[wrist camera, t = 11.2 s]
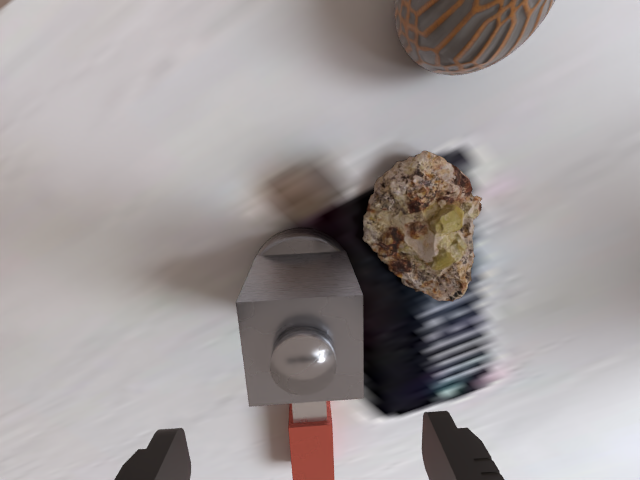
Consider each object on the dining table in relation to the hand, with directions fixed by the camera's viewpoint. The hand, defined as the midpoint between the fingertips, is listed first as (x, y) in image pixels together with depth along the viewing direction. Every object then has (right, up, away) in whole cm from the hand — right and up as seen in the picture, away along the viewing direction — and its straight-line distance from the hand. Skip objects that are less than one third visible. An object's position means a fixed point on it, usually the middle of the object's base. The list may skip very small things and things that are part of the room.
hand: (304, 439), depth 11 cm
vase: (+8, +20, +8) cm, 23 cm away
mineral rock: (+8, +7, +12) cm, 16 cm away
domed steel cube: (-1, +3, +9) cm, 10 cm away
